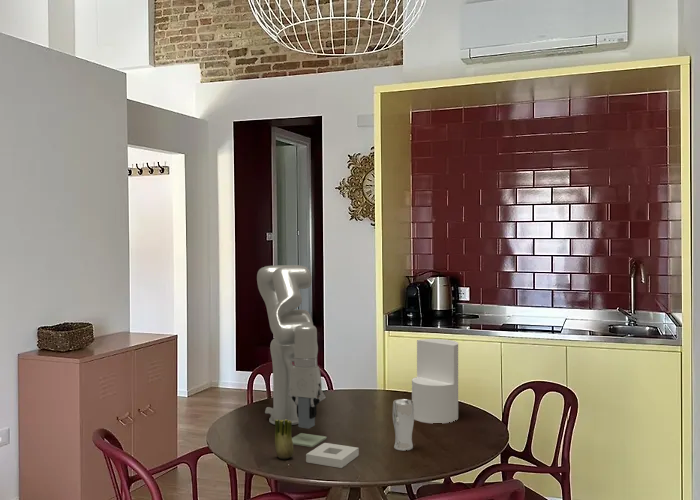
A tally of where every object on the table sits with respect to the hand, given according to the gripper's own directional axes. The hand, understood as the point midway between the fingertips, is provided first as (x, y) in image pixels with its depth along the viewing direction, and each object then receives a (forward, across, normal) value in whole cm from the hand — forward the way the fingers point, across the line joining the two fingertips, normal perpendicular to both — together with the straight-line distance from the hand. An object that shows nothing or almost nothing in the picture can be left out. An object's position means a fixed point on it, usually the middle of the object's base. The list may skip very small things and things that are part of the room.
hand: (306, 416), depth 224 cm
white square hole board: (+9, +16, -12) cm, 21 cm away
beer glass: (+9, +32, +7) cm, 34 cm away
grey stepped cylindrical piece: (+8, +30, +45) cm, 55 cm away
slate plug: (+3, 0, 0) cm, 3 cm away
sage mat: (+8, 0, 0) cm, 8 cm away
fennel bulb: (+9, +2, -17) cm, 19 cm away
